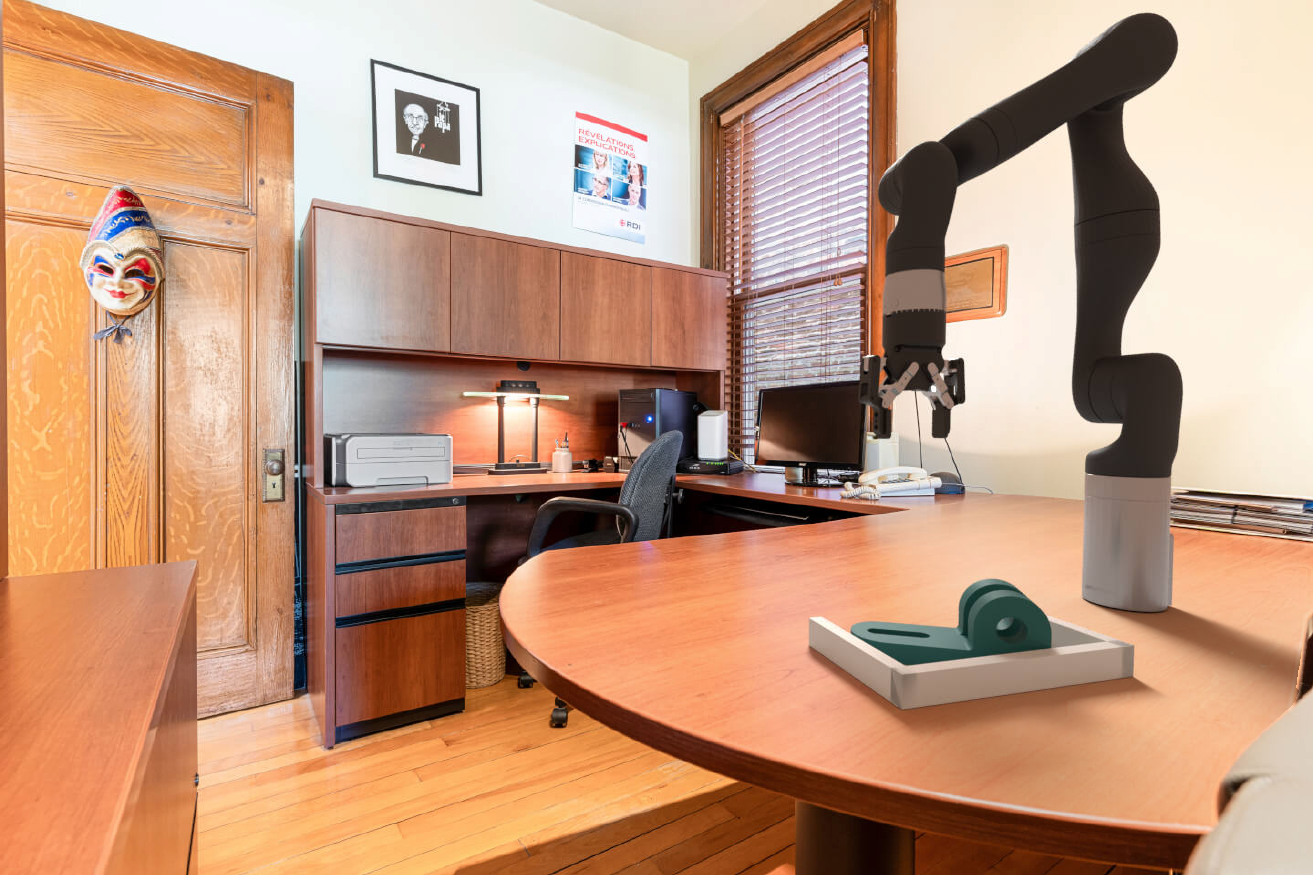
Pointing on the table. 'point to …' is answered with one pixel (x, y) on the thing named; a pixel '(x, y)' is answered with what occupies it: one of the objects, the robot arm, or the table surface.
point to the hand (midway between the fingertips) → (911, 438)
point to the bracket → (966, 628)
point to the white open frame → (977, 666)
